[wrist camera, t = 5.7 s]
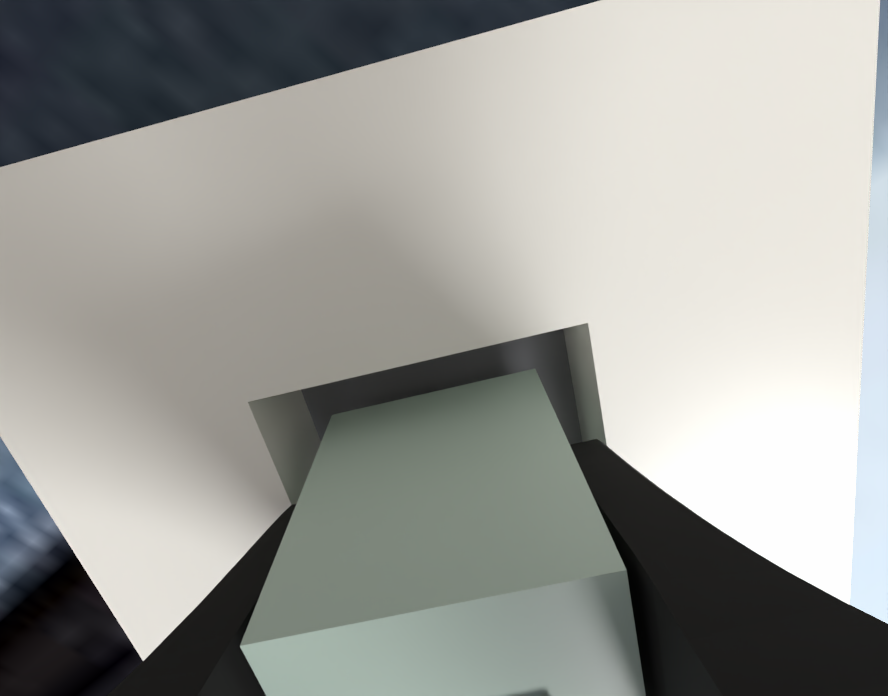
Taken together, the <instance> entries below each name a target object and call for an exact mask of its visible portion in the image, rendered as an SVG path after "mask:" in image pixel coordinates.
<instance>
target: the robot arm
mask: <svg viewBox="0 0 888 696" xmlns="http://www.w3.org/2000/svg"><path fill="white" fill-rule="evenodd" d="M570 446H571V449H572V451H573V453H574V455H575V457H576V460H577V462H578V464H579V466H580V468H581V471H582V473H583V475H584V477H585V479H586V482H587V484H588V486H589V488H590V490H591V493H592V495H593V497H594V499H595V502H596V504H597V506H598V508H599V510H600V513H601V515H602V517H603V519H604V521H605V524H606V526H607V528H608V530H609V532H610V535H611V537H612V539H613V541H614V543H615V546H616V548H617V550H618V552H619V554H620V557H621V559H622V561H623V563H624V565H625V568H626V570H627V576H628V583H629V589H630V596H631V602H632V609H633V615H634V622H635V628H636V635H637V642H638V648H639V655H640V661H641V668H642V674H643V681H644V687H645V694H646V696H888V624H887V623H885V622H883V621H881V620H879V619H877V618H875V617H873V616H871V615H869V614H867V613H865V612H863V611H861V610H859V609H857V608H855V607H853V606H851V605H849V604H847V603H845V602H843V601H841V600H840V599H838V598H836V597H834V596H832V595H830V594H829V593H827V592H825V591H823V590H821V589H819V588H817V587H816V586H814V585H812V584H810V583H808V582H806V581H805V580H803V579H801V578H799V577H797V576H795V575H793V574H792V573H790V572H788V571H786V570H784V569H783V568H781V567H779V566H778V565H776V564H774V563H773V562H771V561H769V560H768V559H766V558H764V557H763V556H761V555H759V554H758V553H756V552H754V551H753V550H751V549H750V548H748V547H746V546H745V545H743V544H742V543H740V542H738V541H737V540H735V539H734V538H732V537H731V536H729V535H727V534H726V533H724V532H723V531H721V530H720V529H718V528H717V527H715V526H714V525H712V524H711V523H709V522H708V521H706V520H705V519H703V518H702V517H700V516H699V515H697V514H696V513H694V512H693V511H692V510H690V509H689V508H687V507H686V506H685V505H683V504H682V503H680V502H679V501H678V500H676V499H675V498H673V497H672V496H670V495H669V494H668V493H666V492H665V491H664V490H662V489H661V488H659V487H658V486H657V485H655V484H654V483H653V482H651V481H650V480H649V479H648V478H646V477H645V476H644V475H642V474H641V473H640V472H639V471H637V470H636V469H635V468H633V467H632V466H631V465H630V464H628V463H627V462H626V461H625V460H623V459H622V458H621V457H620V456H618V455H617V454H616V453H615V452H614V451H612V450H611V449H610V448H609V447H608V446H606V445H605V444H604V443H602V442H601V441H599V440H598V439H593V440H589V441H584V442H579V443H575V444H570ZM295 506H296V504H292V505H291V506H290V507H289V508H288V509H287V510H286V511H285V512H283V513H282V514H281V515H280V517H279V518H278V519H277V520H276V521H275V522H274V523H273V524H272V525H271V526H270V527H269V528H268V529H267V530H266V531H265V533H264V534H263V535H262V536H261V537H260V538H259V539H258V540H257V541H256V542H255V544H254V545H253V546H252V547H251V548H250V549H249V550H248V551H247V552H246V553H245V555H244V556H243V557H242V558H241V559H240V560H239V561H238V562H237V563H236V564H235V566H234V567H233V568H232V569H231V570H230V571H229V572H228V573H227V574H226V575H225V576H224V578H223V579H222V580H221V581H220V582H219V583H218V584H217V585H216V586H215V587H214V589H213V590H212V591H211V592H210V593H209V594H208V595H207V596H206V597H205V598H204V599H203V600H202V602H201V603H200V604H199V605H198V606H197V607H196V608H195V609H194V610H193V611H192V612H191V613H190V614H189V615H188V616H187V617H186V618H185V619H184V620H183V621H182V622H181V623H180V624H179V625H178V626H177V627H176V628H175V629H174V630H173V631H172V632H171V633H170V634H169V635H168V636H167V637H166V638H165V639H164V640H163V641H162V643H161V644H160V645H159V646H158V647H157V648H156V649H155V650H154V651H153V652H152V653H151V654H150V655H149V656H148V657H147V658H146V659H145V660H144V661H143V662H142V663H141V664H140V665H139V666H138V667H137V668H136V669H135V670H134V671H133V672H132V673H131V674H130V675H129V676H128V677H126V678H125V679H124V680H123V681H122V682H121V683H120V684H119V685H118V686H117V687H116V688H115V689H114V690H113V691H112V692H111V693H110V694H108V695H107V696H266V694H265V692H264V691H263V689H262V687H261V685H260V683H259V681H258V679H257V678H256V676H255V674H254V672H253V670H252V668H251V666H250V664H249V663H248V661H247V659H246V657H245V655H244V653H243V651H242V649H241V648H240V644H241V642H242V639H243V637H244V634H245V632H246V629H247V627H248V624H249V622H250V619H251V617H252V614H253V611H254V609H255V606H256V604H257V601H258V599H259V596H260V594H261V591H262V589H263V586H264V584H265V581H266V579H267V576H268V574H269V571H270V569H271V566H272V564H273V561H274V559H275V556H276V554H277V551H278V549H279V546H280V544H281V541H282V539H283V536H284V534H285V531H286V529H287V526H288V524H289V521H290V519H291V516H292V514H293V511H294V509H295Z"/></svg>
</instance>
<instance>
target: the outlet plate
mask: <svg viewBox="0 0 888 696" xmlns="http://www.w3.org/2000/svg"><path fill="white" fill-rule="evenodd" d="M879 8H880V0H600V1H596V2H593V3H589V4H586V5H582V6H578V7H575V8H571V9H568V10H564V11H560V12H557V13H553V14H550V15H546V16H542V17H539V18H535V19H532V20H528V21H524V22H521V23H517V24H514V25H510V26H506V27H503V28H499V29H496V30H492V31H488V32H485V33H481V34H478V35H474V36H470V37H467V38H463V39H460V40H456V41H453V42H449V43H445V44H442V45H438V46H435V47H431V48H427V49H424V50H420V51H417V52H413V53H409V54H406V55H402V56H399V57H395V58H391V59H388V60H384V61H381V62H377V63H373V64H370V65H366V66H363V67H359V68H355V69H352V70H348V71H345V72H341V73H337V74H334V75H330V76H327V77H323V78H319V79H316V80H312V81H309V82H305V83H301V84H298V85H294V86H291V87H287V88H283V89H280V90H276V91H273V92H269V93H265V94H262V95H258V96H255V97H251V98H247V99H244V100H240V101H237V102H233V103H229V104H226V105H222V106H219V107H215V108H212V109H208V110H204V111H201V112H197V113H194V114H190V115H186V116H183V117H179V118H176V119H172V120H168V121H165V122H161V123H158V124H154V125H150V126H147V127H143V128H140V129H136V130H132V131H129V132H125V133H122V134H118V135H114V136H111V137H107V138H104V139H100V140H96V141H93V142H89V143H86V144H82V145H78V146H75V147H71V148H68V149H64V150H60V151H57V152H53V153H50V154H46V155H42V156H39V157H35V158H32V159H28V160H24V161H21V162H17V163H14V164H10V165H6V166H3V167H0V437H1V438H2V440H3V441H4V443H5V445H6V446H7V448H8V449H9V451H10V452H11V454H12V456H13V457H14V459H15V460H16V462H17V463H18V465H19V467H20V468H21V470H22V471H23V473H24V474H25V476H26V478H27V479H28V481H29V482H30V484H31V485H32V487H33V489H34V490H35V492H36V493H37V495H38V496H39V498H40V500H41V501H42V503H43V504H44V506H45V507H46V509H47V511H48V512H49V514H50V515H51V517H52V518H53V520H54V522H55V523H56V525H57V526H58V528H59V529H60V531H61V533H62V534H63V536H64V537H65V539H66V540H67V542H68V544H69V545H70V547H71V548H72V550H73V551H74V553H75V555H76V556H77V558H78V559H79V561H80V562H81V564H82V566H83V567H84V569H85V570H86V572H87V573H88V575H89V577H90V578H91V580H92V581H93V583H94V584H95V586H96V588H97V589H98V591H99V592H100V594H101V595H102V597H103V599H104V600H105V602H106V603H107V605H108V606H109V608H110V610H111V611H112V613H113V614H114V616H115V617H116V619H117V621H118V622H119V624H120V625H121V627H122V628H123V630H124V632H125V633H126V635H127V636H128V638H129V639H130V641H131V643H132V644H133V646H134V647H135V649H136V650H137V652H138V654H139V655H140V657H141V658H142V660H143V661H144V660H145V659H146V658H147V657H148V656H149V655H150V654H151V653H152V652H153V651H154V650H155V649H156V648H157V647H158V646H159V645H160V644H161V643H162V641H163V640H164V639H165V638H166V637H167V636H168V635H169V634H170V633H171V632H172V631H173V630H174V629H175V628H176V627H177V626H178V625H179V624H180V623H181V622H182V621H183V620H184V619H185V618H186V617H187V616H188V615H189V614H190V613H191V612H192V611H193V610H194V609H195V608H196V607H197V606H198V605H199V604H200V603H201V602H202V600H203V599H204V598H205V597H206V596H207V595H208V594H209V593H210V592H211V591H212V590H213V589H214V587H215V586H216V585H217V584H218V583H219V582H220V581H221V580H222V579H223V578H224V576H225V575H226V574H227V573H228V572H229V571H230V570H231V569H232V568H233V567H234V566H235V564H236V563H237V562H238V561H239V560H240V559H241V558H242V557H243V556H244V555H245V553H246V552H247V551H248V550H249V549H250V548H251V547H252V546H253V545H254V544H255V542H256V541H257V540H258V539H259V538H260V537H261V536H262V535H263V534H264V533H265V531H266V530H267V529H268V528H269V527H270V526H271V525H272V524H273V523H274V522H275V521H276V520H277V519H278V518H279V517H280V515H281V514H282V513H283V512H285V511H286V510H287V509H288V508H289V507H290V506H291V505H292V504H297V501H298V499H299V496H300V494H301V491H302V489H303V486H304V484H305V481H306V479H307V476H308V474H309V471H310V469H311V466H312V464H313V461H314V459H315V456H316V454H317V451H318V449H319V446H320V444H321V441H322V439H323V436H324V434H325V431H326V429H327V426H328V424H329V421H330V419H331V416H332V415H334V414H338V413H342V412H347V411H351V410H355V409H360V408H364V407H369V406H373V405H377V404H382V403H386V402H390V401H395V400H399V399H404V398H408V397H412V396H417V395H421V394H425V393H430V392H434V391H439V390H443V389H447V388H452V387H456V386H461V385H465V384H469V383H474V382H478V381H482V380H487V379H491V378H496V377H500V376H504V375H509V374H513V373H517V372H522V371H526V370H531V369H536V372H537V374H538V376H539V378H540V380H541V383H542V385H543V387H544V389H545V391H546V394H547V396H548V398H549V400H550V402H551V405H552V407H553V409H554V411H555V413H556V416H557V418H558V420H559V422H560V424H561V427H562V429H563V431H564V433H565V435H566V438H567V440H568V442H569V444H575V443H579V442H584V441H589V440H593V439H598V440H599V441H601V442H602V443H604V444H605V445H606V446H608V447H609V448H610V449H611V450H612V451H614V452H615V453H616V454H617V455H618V456H620V457H621V458H622V459H623V460H625V461H626V462H627V463H628V464H630V465H631V466H632V467H633V468H635V469H636V470H637V471H639V472H640V473H641V474H642V475H644V476H645V477H646V478H648V479H649V480H650V481H651V482H653V483H654V484H655V485H657V486H658V487H659V488H661V489H662V490H664V491H665V492H666V493H668V494H669V495H670V496H672V497H673V498H675V499H676V500H678V501H679V502H680V503H682V504H683V505H685V506H686V507H687V508H689V509H690V510H692V511H693V512H694V513H696V514H697V515H699V516H700V517H702V518H703V519H705V520H706V521H708V522H709V523H711V524H712V525H714V526H715V527H717V528H718V529H720V530H721V531H723V532H724V533H726V534H727V535H729V536H731V537H732V538H734V539H735V540H737V541H738V542H740V543H742V544H743V545H745V546H746V547H748V548H750V549H751V550H753V551H754V552H756V553H758V554H759V555H761V556H763V557H764V558H766V559H768V560H769V561H771V562H773V563H774V564H776V565H778V566H779V567H781V568H783V569H784V570H786V571H788V572H790V573H792V574H793V575H795V576H797V577H799V578H801V579H803V580H805V581H806V582H808V583H810V584H812V585H814V586H816V587H817V588H819V589H821V590H823V591H825V592H827V593H829V594H830V595H832V596H834V597H836V598H838V599H840V600H841V601H843V602H845V603H847V604H849V605H850V587H851V567H852V547H853V527H854V507H855V487H856V467H857V447H858V427H859V407H860V387H861V367H862V347H863V327H864V307H865V287H866V267H867V247H868V227H869V208H870V188H871V168H872V148H873V128H874V108H875V88H876V68H877V48H878V28H879Z"/></svg>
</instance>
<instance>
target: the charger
mask: <svg viewBox="0 0 888 696" xmlns="http://www.w3.org/2000/svg"><path fill="white" fill-rule="evenodd" d="M240 648H241V649H242V651H243V653H244V655H245V657H246V659H247V661H248V663H249V664H250V666H251V668H252V670H253V672H254V674H255V676H256V678H257V679H258V681H259V683H260V685H261V687H262V689H263V691H264V692H265V694H266V696H646V694H645V687H644V681H643V674H642V668H641V661H640V655H639V648H638V642H637V635H636V628H635V622H634V615H633V609H632V602H631V596H630V589H629V583H628V576H627V570H626V568H625V565H624V563H623V561H622V559H621V557H620V554H619V552H618V550H617V548H616V546H615V543H614V541H613V539H612V537H611V535H610V532H609V530H608V528H607V526H606V524H605V521H604V519H603V517H602V515H601V513H600V510H599V508H598V506H597V504H596V502H595V499H594V497H593V495H592V493H591V490H590V488H589V486H588V484H587V482H586V479H585V477H584V475H583V473H582V471H581V468H580V466H579V464H578V462H577V460H576V457H575V455H574V453H573V451H572V449H571V446H570V444H569V442H568V440H567V438H566V435H565V433H564V431H563V429H562V427H561V424H560V422H559V420H558V418H557V416H556V413H555V411H554V409H553V407H552V405H551V402H550V400H549V398H548V396H547V394H546V391H545V389H544V387H543V385H542V383H541V380H540V378H539V376H538V374H537V372H536V369H531V370H526V371H522V372H517V373H513V374H509V375H504V376H500V377H496V378H491V379H487V380H482V381H478V382H474V383H469V384H465V385H461V386H456V387H452V388H447V389H443V390H439V391H434V392H430V393H425V394H421V395H417V396H412V397H408V398H404V399H399V400H395V401H390V402H386V403H382V404H377V405H373V406H369V407H364V408H360V409H355V410H351V411H347V412H342V413H338V414H334V415H332V416H331V419H330V421H329V424H328V426H327V429H326V431H325V434H324V436H323V439H322V441H321V444H320V446H319V449H318V451H317V454H316V456H315V459H314V461H313V464H312V466H311V469H310V471H309V474H308V476H307V479H306V481H305V484H304V486H303V489H302V491H301V494H300V496H299V499H298V501H297V504H296V506H295V509H294V511H293V514H292V516H291V519H290V521H289V524H288V526H287V529H286V531H285V534H284V536H283V539H282V541H281V544H280V546H279V549H278V551H277V554H276V556H275V559H274V561H273V564H272V566H271V569H270V571H269V574H268V576H267V579H266V581H265V584H264V586H263V589H262V591H261V594H260V596H259V599H258V601H257V604H256V606H255V609H254V611H253V614H252V617H251V619H250V622H249V624H248V627H247V629H246V632H245V634H244V637H243V639H242V642H241V644H240Z"/></svg>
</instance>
